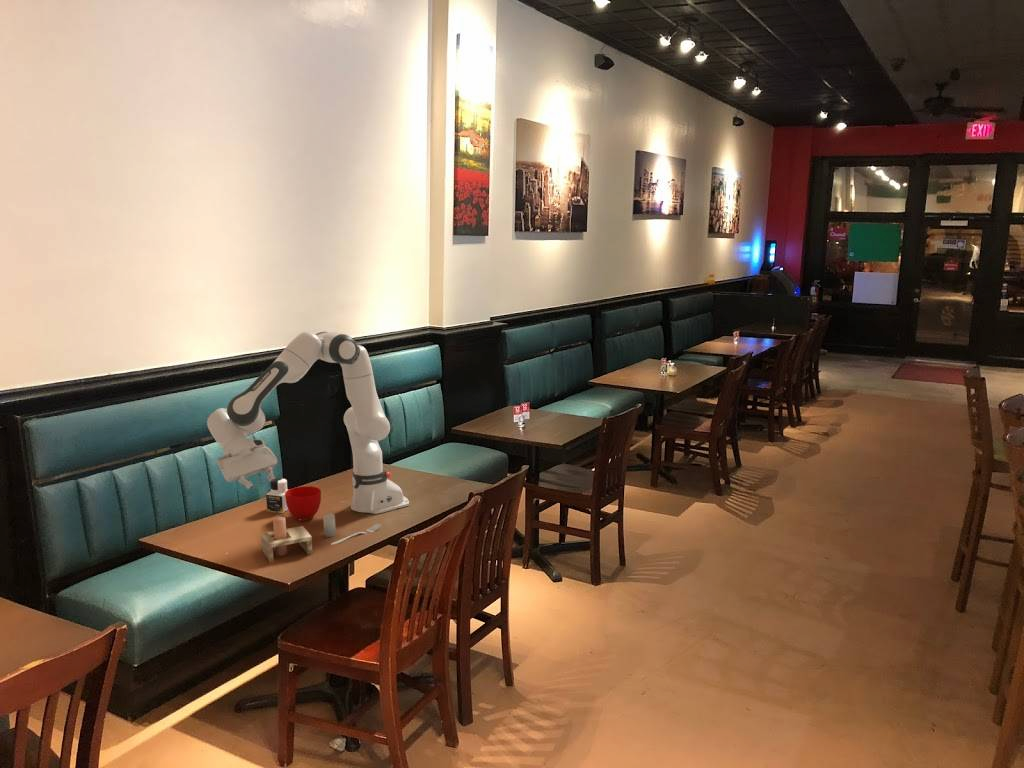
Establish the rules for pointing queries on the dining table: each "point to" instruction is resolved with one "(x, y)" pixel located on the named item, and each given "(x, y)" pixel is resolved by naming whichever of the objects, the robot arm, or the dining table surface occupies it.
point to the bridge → (286, 541)
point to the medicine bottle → (277, 496)
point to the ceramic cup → (303, 501)
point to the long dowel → (280, 534)
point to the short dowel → (329, 525)
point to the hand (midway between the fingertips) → (261, 483)
